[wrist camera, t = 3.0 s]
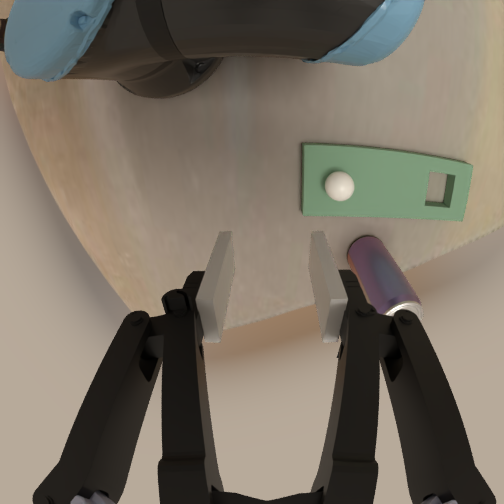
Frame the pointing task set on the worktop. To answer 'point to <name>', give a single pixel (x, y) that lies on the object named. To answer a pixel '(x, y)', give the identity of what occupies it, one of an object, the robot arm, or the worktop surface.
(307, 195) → the green rectangular board
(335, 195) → the white ball
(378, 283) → the beverage can
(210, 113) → the worktop surface
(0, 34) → the mate gourd
